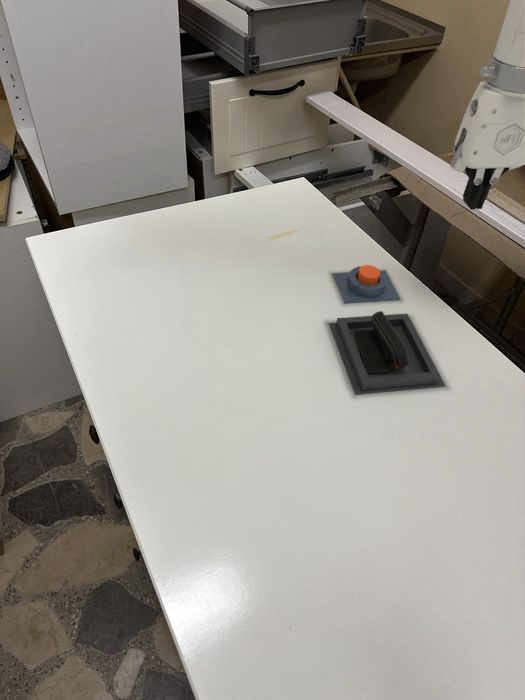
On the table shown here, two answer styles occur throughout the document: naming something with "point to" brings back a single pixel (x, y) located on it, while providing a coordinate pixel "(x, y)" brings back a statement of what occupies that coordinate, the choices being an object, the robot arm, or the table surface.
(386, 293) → the button base
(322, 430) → the table surface
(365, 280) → the power button
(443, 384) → the dock
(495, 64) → the robot arm
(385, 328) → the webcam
